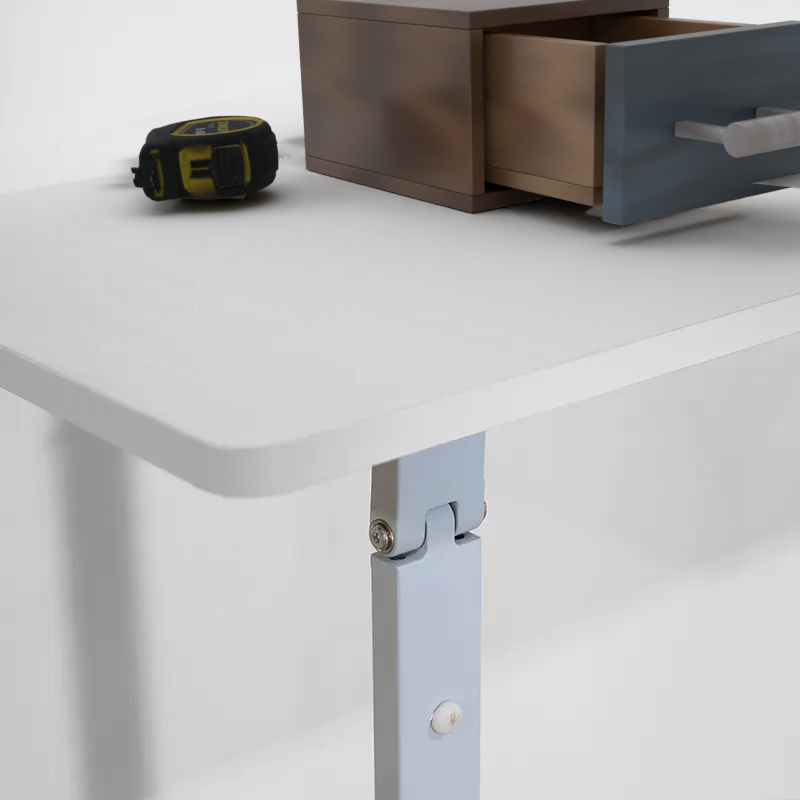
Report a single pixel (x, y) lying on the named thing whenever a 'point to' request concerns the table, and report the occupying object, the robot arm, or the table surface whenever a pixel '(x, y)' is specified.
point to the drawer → (641, 111)
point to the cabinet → (414, 90)
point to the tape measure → (207, 159)
